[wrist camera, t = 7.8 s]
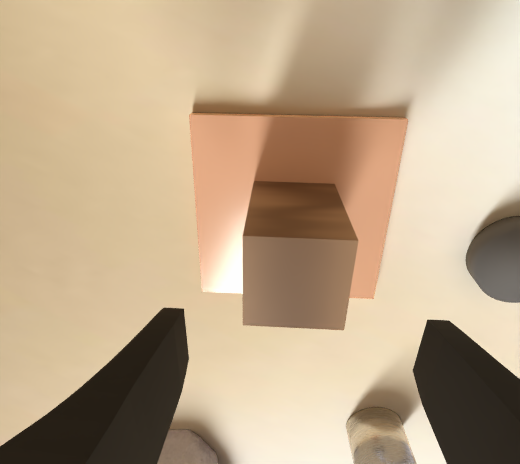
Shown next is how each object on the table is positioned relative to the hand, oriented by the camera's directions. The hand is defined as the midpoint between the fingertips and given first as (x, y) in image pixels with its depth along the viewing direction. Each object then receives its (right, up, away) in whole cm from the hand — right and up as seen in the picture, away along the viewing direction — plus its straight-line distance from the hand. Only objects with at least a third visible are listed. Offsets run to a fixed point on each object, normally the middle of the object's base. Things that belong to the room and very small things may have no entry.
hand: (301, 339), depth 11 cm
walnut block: (0, +4, +8) cm, 9 cm away
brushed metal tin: (+7, -11, +16) cm, 21 cm away
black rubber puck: (+12, +2, +9) cm, 15 cm away
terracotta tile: (0, +4, +8) cm, 9 cm away
